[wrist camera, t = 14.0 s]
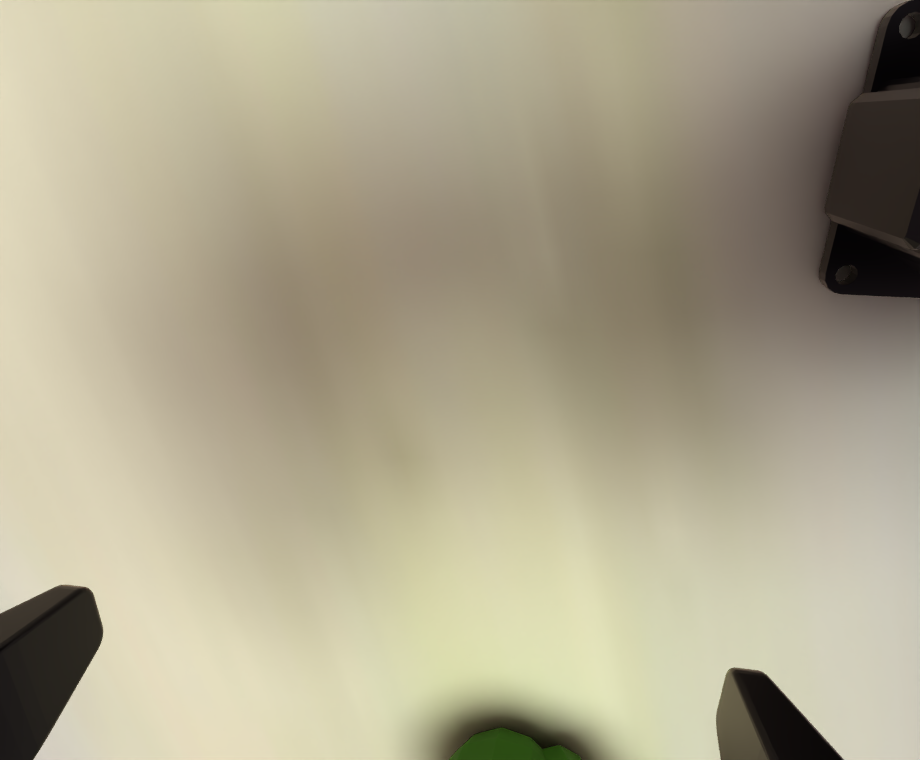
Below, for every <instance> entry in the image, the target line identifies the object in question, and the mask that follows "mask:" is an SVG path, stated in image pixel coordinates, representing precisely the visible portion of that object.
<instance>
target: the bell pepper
mask: <svg viewBox="0 0 920 760" xmlns="http://www.w3.org/2000/svg"><path fill="white" fill-rule="evenodd" d="M449 760H582V759H581V758H580V756H579V755H577V754H575V753H573V752H572V751H570V750H568V749H566V748H564V747H562V746H561V745H556V746H552V747H548V748H544V749H542V748H541V747H540V746H539V745H538V744H537V743H536V742H535V741H534V740H533V739H532V738H531V737H528V736H525V735H523V734H520V733H517V732H514V731H511V730H508V729H506V728H503V727H500V728H496V729H493V730H489V731H485V732H481V733H477V734H474V735H473V736H472V737H471V738H470V739H469V740H468V741H467V742H466V743H465V744H463V745H462V746H461V747H460V748H459V749H458V750H457V751H456V752H455V753H454V754H453V755H452V756H451V758H450V759H449Z"/></svg>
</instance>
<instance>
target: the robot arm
mask: <svg viewBox="0 0 920 760" xmlns="http://www.w3.org/2000/svg"><path fill="white" fill-rule="evenodd" d="M907 15H909V16H912V17H913V18H914V20H915V30H914V32H913V34H912V35H911V36H910V37H908V38H903V37H902V36H901V34H900V33H899V25H900V23H901V21H902V19H903V18H904V17H905V16H907ZM824 211H825V213H826V214H827V215H828V217H829V218H830V219H831V220H832V221H831V225H830V229H829V233H828V237H827V241H826V245H825V249H824V253H823V258H822V262H821V266H820V270H819V279H820V281H821V283H822V284H823V285H824V286H825V287H826V288H828V289H829V290H831V291H832V292H834V293H839V294H848V295H869V296H891V297H912V298H920V0H911V1H907V2H904V3H902V4H899V5H897V6H896V7H894V8H893V9H891V10H890V11H889V12H888V13H887V14H886V15H885V16H884V18H883V19H882V22H881V24H880V26H879V29H878V33H877V37H876V41H875V45H874V49H873V53H872V57H871V61H870V65H869V70H868V74H867V78H866V82H865V86H864V90H863V94H861V95H860V96H859V97H857V98H856V99H855V100H854V101H853V102H852V103H850V105H849V108H848V112H847V116H846V120H845V124H844V128H843V133H842V137H841V141H840V145H839V149H838V154H837V158H836V162H835V166H834V170H833V175H832V179H831V183H830V187H829V191H828V196H827V200H826V204H825V209H824ZM845 265H850V267H851V272H850V274H849V276H848V277H847V278H845V279H844V280H841V281H836V273H837V271H838V269H840V268H841V267H842V266H845ZM102 637H103V626H102V622H101V619H100V615H99V612H98V608H97V605H96V601H95V598H94V595H93V592H92V591H91V590H90V589H89V588H86V587H81V586H73V585H60V586H57V587H54V588H52V589H50V590H48V591H46V592H44V593H42V594H40V595H38V596H36V597H34V598H32V599H30V600H28V601H25V602H23V603H21V604H19V605H17V606H15V607H13V608H11V609H9V610H7V611H5V612H3V613H1V614H0V760H33V759H34V758H35V756H36V755H37V753H38V752H39V750H40V748H41V747H42V745H43V743H44V742H45V740H46V738H47V737H48V735H49V734H50V732H51V730H52V728H53V727H54V725H55V723H56V721H57V720H58V718H59V716H60V715H61V713H62V711H63V709H64V708H65V706H66V704H67V702H68V701H69V699H70V697H71V695H72V694H73V692H74V690H75V688H76V687H77V685H78V683H79V681H80V680H81V678H82V676H83V674H84V673H85V671H86V669H87V667H88V666H89V664H90V662H91V661H92V659H93V657H94V655H95V654H96V652H97V650H98V648H99V646H100V644H101V641H102ZM716 728H717V736H718V743H719V750H720V756H721V760H844V759H843V758H842V757H841V756H840V755H839V754H838V753H837V752H836V750H835V749H834V748H833V747H832V746H831V745H830V744H829V743H828V742H827V741H826V739H825V738H824V737H823V736H822V735H821V734H820V733H819V732H818V731H817V729H816V728H815V727H814V726H813V725H812V724H811V723H810V722H809V721H808V720H807V718H806V717H805V716H804V715H803V714H802V713H801V712H800V711H799V710H798V709H797V707H796V706H795V705H794V704H793V703H792V702H791V701H790V700H789V699H788V698H787V696H786V695H785V694H784V693H783V692H782V691H781V690H780V689H779V688H778V686H777V685H776V684H775V683H774V682H773V681H772V680H771V679H770V678H769V677H768V676H767V675H766V674H765V673H763V672H761V671H758V670H750V669H742V668H731V669H729V670H728V672H727V674H726V677H725V681H724V685H723V689H722V693H721V697H720V701H719V705H718V709H717V715H716Z"/></svg>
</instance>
